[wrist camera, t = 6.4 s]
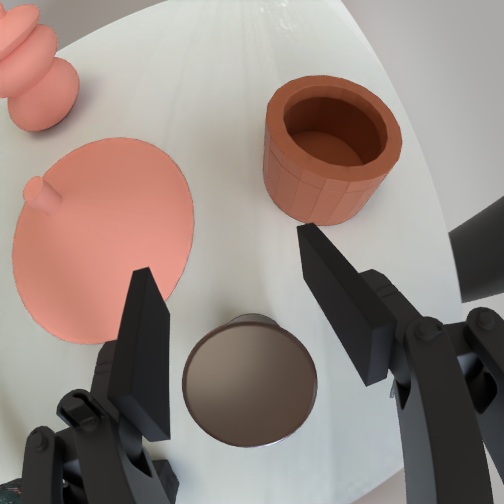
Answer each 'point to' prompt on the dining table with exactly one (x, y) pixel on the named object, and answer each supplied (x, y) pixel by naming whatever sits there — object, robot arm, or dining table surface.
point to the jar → (327, 148)
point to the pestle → (249, 382)
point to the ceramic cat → (8, 494)
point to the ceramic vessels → (86, 201)
